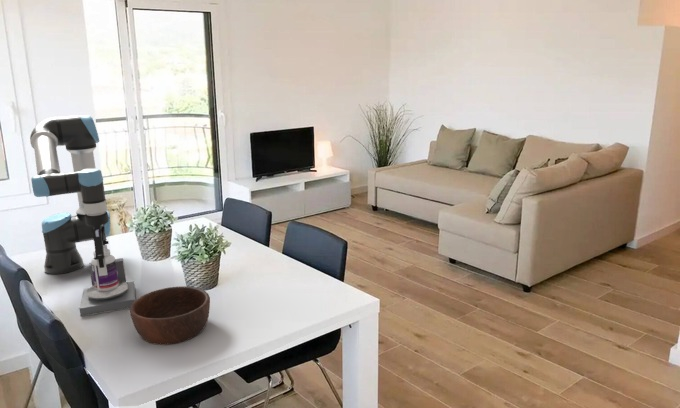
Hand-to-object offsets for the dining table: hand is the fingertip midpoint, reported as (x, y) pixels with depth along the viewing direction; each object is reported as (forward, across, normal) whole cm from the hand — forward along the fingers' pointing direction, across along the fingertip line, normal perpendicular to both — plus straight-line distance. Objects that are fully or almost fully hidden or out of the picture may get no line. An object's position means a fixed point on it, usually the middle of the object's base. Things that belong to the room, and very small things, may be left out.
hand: (104, 268), depth 196 cm
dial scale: (+13, -1, 0) cm, 13 cm away
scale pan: (+10, +1, 0) cm, 10 cm away
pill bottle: (+8, 0, 0) cm, 8 cm away
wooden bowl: (+13, +33, +21) cm, 41 cm away
